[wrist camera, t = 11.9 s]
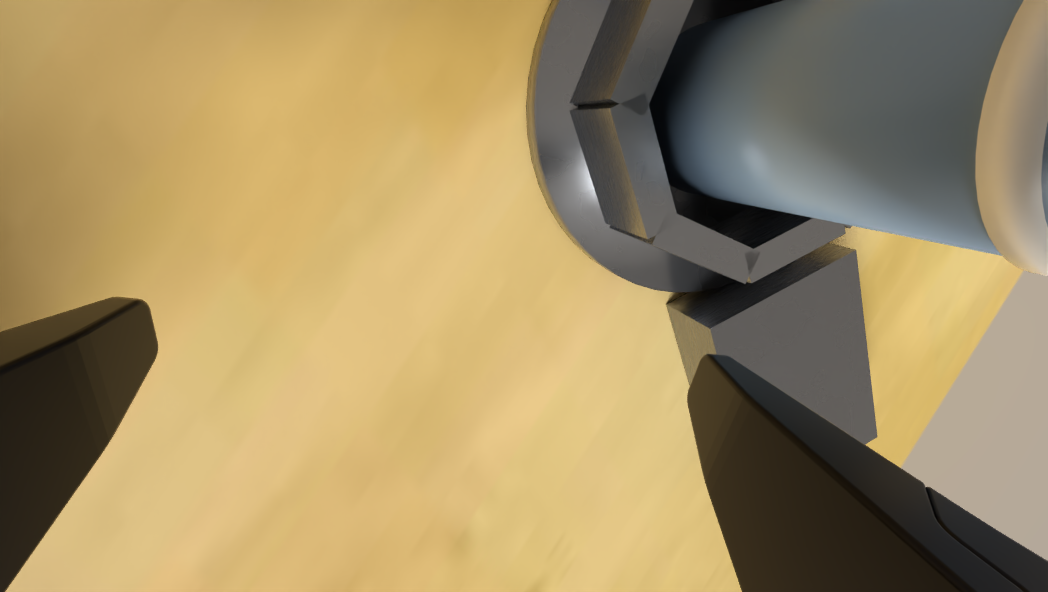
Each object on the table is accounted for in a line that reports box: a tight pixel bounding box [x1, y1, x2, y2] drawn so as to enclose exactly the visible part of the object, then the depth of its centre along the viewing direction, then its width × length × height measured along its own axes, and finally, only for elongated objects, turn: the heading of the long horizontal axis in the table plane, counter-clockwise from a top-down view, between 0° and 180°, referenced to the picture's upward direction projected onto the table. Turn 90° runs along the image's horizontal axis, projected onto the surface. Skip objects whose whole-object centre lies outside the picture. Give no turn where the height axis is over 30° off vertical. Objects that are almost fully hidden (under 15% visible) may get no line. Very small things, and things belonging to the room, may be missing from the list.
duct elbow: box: [649, 0, 1048, 276], centre depth 14 cm, size 10×6×12 cm, turn 122°
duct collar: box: [526, 0, 877, 445], centre depth 21 cm, size 24×14×4 cm, turn 22°
